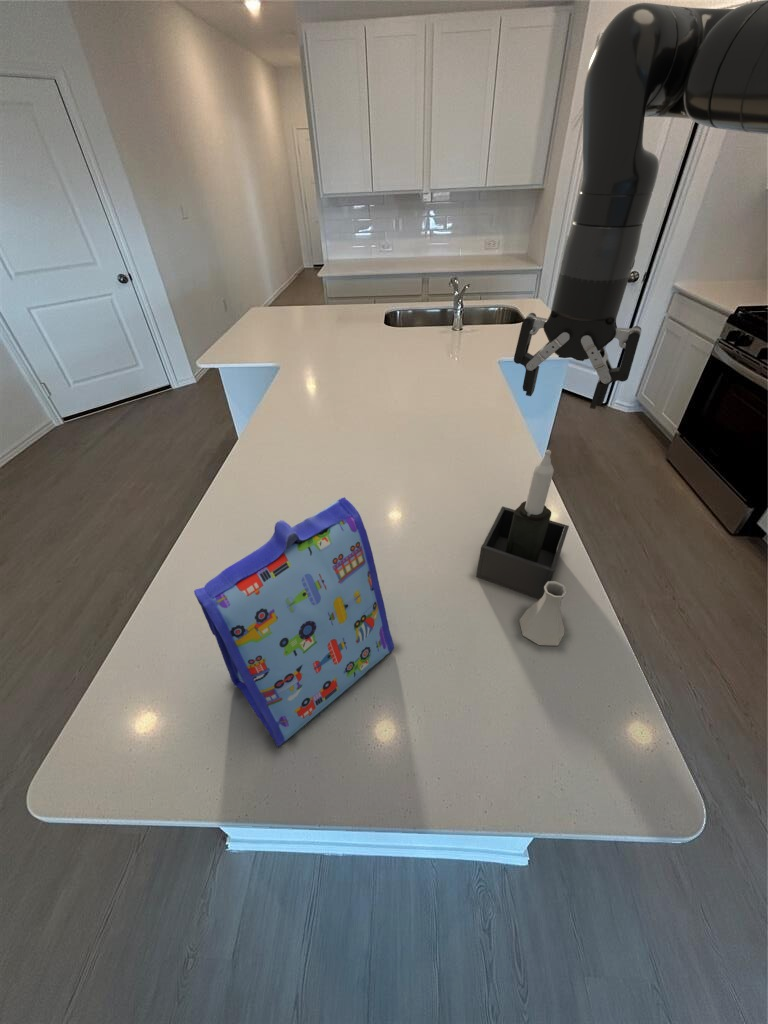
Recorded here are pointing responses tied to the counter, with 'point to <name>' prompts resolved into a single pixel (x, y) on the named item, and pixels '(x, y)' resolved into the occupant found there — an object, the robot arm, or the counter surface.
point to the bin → (519, 558)
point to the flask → (545, 617)
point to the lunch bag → (300, 617)
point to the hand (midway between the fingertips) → (560, 400)
